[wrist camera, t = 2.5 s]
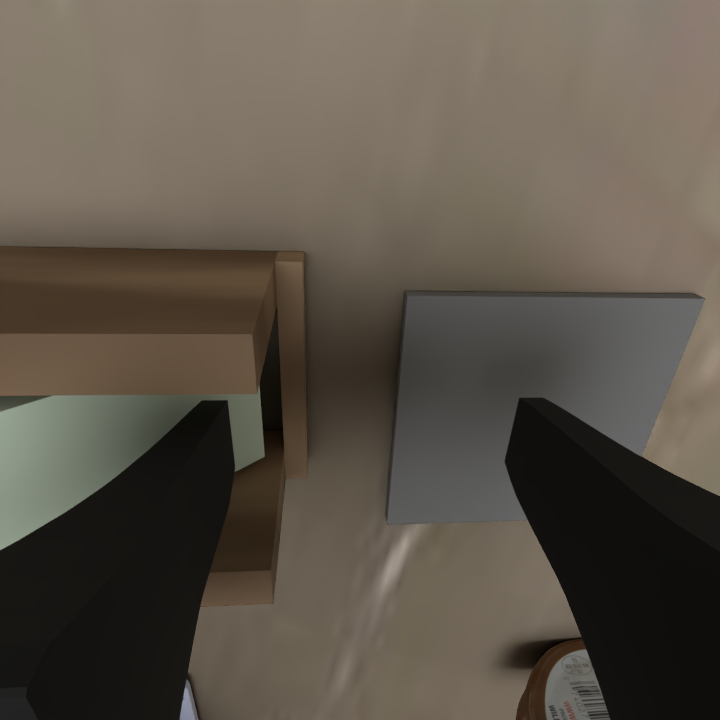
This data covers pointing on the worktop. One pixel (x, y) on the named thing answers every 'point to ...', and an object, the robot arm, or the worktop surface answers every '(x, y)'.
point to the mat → (519, 386)
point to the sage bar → (93, 447)
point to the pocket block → (170, 360)
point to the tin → (563, 687)
